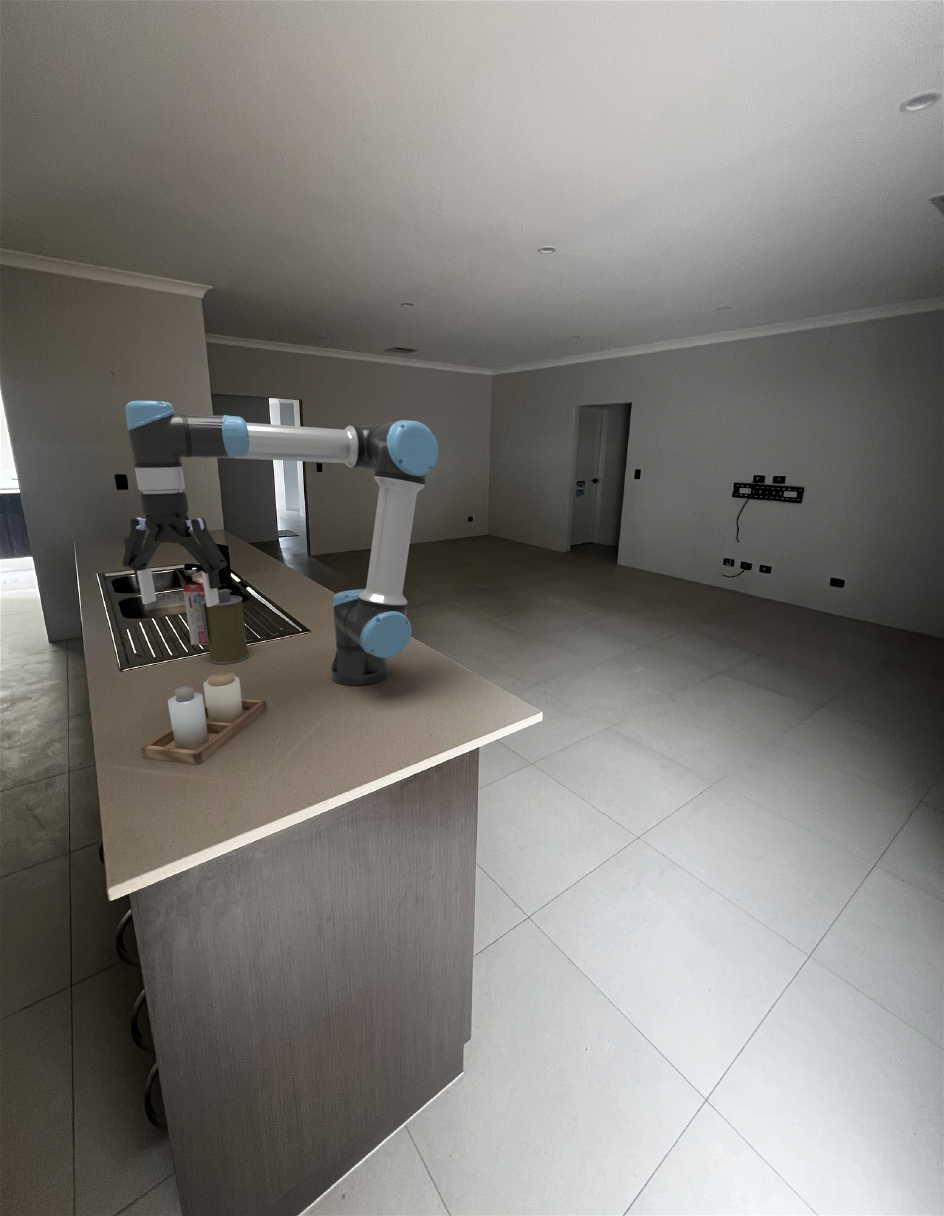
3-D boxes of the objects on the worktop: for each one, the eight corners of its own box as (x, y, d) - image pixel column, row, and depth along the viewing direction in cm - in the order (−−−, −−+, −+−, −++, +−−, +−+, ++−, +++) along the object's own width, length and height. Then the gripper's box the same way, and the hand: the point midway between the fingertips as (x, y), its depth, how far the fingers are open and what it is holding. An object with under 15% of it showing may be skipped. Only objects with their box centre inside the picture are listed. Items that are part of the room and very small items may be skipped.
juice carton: (221, 637, 173) (213, 570, 167) (212, 644, 167) (203, 575, 161) (200, 637, 173) (191, 570, 167) (191, 644, 167) (181, 575, 161)
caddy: (267, 713, 122) (265, 701, 122) (199, 768, 101) (197, 754, 100) (219, 708, 125) (218, 696, 124) (143, 761, 103) (141, 747, 102)
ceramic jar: (250, 713, 120) (245, 671, 117) (231, 728, 114) (225, 684, 111) (222, 711, 122) (216, 669, 119) (201, 725, 115) (195, 681, 112)
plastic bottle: (195, 754, 104) (186, 696, 101) (168, 751, 105) (158, 694, 102) (215, 738, 110) (207, 684, 106) (189, 736, 111) (181, 681, 107)
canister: (237, 649, 163) (229, 584, 158) (255, 657, 157) (248, 590, 151) (201, 659, 155) (191, 591, 149) (219, 667, 149) (209, 597, 143)
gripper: (237, 490, 100) (251, 600, 106) (118, 490, 104) (138, 596, 110) (212, 493, 93) (228, 611, 99) (86, 492, 97) (108, 606, 103)
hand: (181, 603), depth 104 cm, fingers open, 13 cm apart
